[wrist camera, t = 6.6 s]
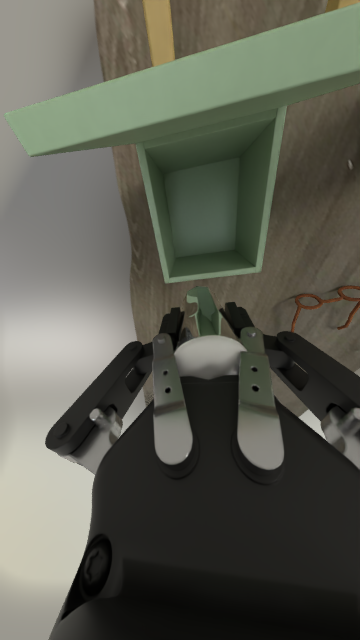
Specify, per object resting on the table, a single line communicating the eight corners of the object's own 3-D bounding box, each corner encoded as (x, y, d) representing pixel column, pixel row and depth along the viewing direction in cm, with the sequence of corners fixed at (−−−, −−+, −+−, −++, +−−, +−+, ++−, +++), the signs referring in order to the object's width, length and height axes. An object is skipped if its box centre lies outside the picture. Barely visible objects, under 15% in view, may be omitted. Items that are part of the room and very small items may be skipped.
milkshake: (224, 321, 17) (261, 424, 9) (176, 317, 17) (167, 418, 9) (236, 281, 14) (304, 377, 6) (178, 277, 14) (169, 368, 6)
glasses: (356, 283, 34) (379, 292, 30) (338, 328, 41) (354, 341, 37) (290, 295, 36) (303, 306, 32) (284, 336, 43) (294, 349, 39)
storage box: (237, 252, 31) (261, 272, 21) (173, 261, 33) (165, 283, 23) (244, 150, 23) (288, 100, 13) (157, 169, 25) (134, 138, 15)
